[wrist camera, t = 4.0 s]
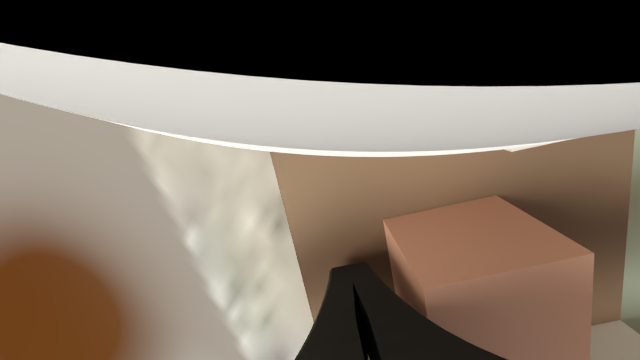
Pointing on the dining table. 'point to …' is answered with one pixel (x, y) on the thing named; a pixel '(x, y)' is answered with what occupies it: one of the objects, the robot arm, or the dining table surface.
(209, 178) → the dining table surface
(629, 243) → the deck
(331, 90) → the pill bottle
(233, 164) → the dining table surface
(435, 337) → the robot arm
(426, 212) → the block
